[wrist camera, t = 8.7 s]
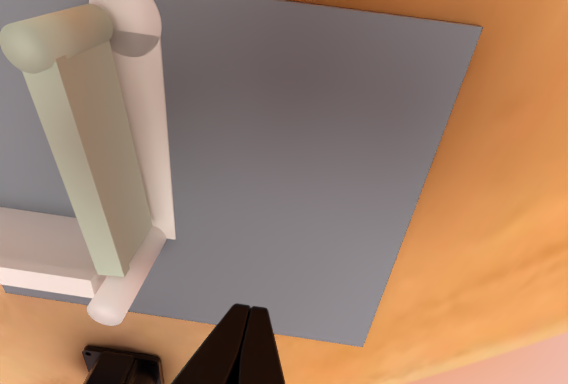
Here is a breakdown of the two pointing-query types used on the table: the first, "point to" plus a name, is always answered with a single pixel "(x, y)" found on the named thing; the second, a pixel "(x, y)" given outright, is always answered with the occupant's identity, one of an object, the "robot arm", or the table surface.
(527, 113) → the table surface
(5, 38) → the swinging fence panel
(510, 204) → the table surface
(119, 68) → the card
